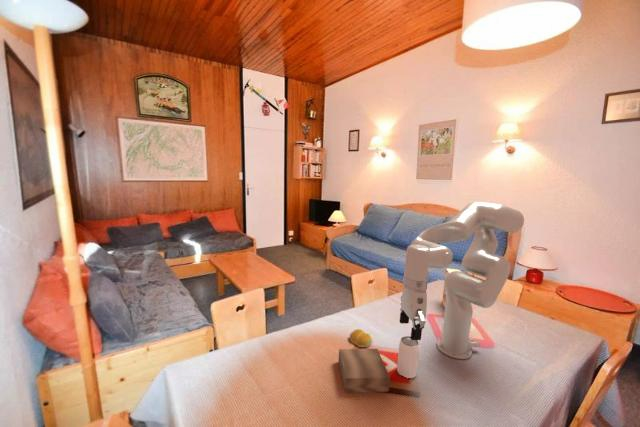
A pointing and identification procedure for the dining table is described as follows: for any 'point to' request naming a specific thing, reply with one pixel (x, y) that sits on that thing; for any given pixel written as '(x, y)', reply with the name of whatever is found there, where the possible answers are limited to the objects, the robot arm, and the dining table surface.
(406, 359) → the can
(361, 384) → the block
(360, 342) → the bread roll
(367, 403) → the dining table surface
